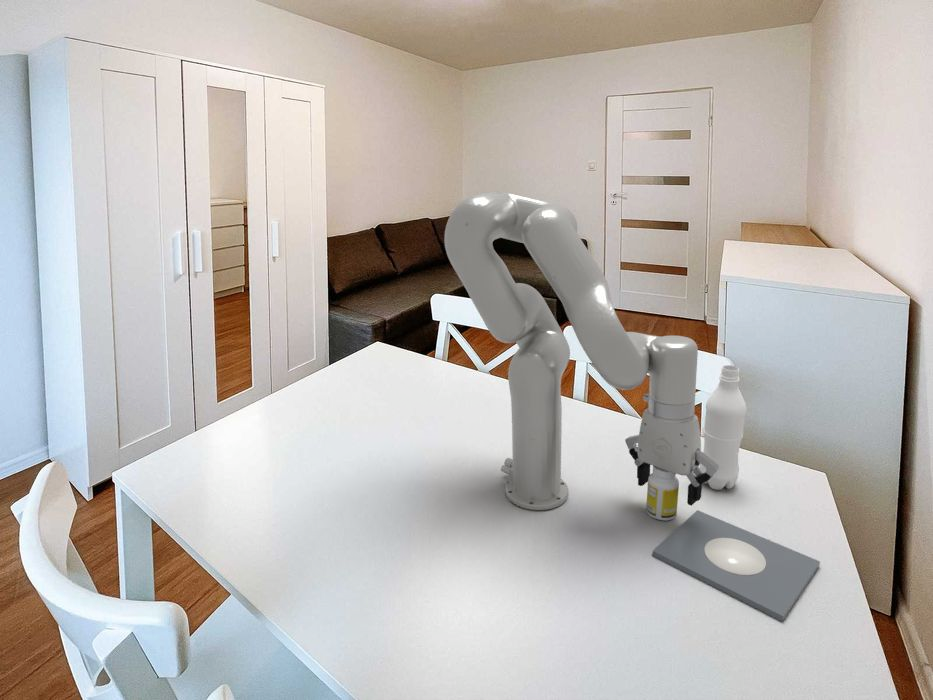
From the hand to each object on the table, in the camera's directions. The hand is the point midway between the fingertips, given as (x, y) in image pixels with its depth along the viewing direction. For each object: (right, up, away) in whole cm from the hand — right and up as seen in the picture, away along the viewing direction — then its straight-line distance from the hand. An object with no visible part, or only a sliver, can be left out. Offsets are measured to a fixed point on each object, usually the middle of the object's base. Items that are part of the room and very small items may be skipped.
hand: (667, 492), depth 101 cm
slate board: (+7, -8, -12) cm, 16 cm away
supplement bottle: (-1, -4, +2) cm, 5 cm away
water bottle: (+14, -1, +10) cm, 17 cm away
